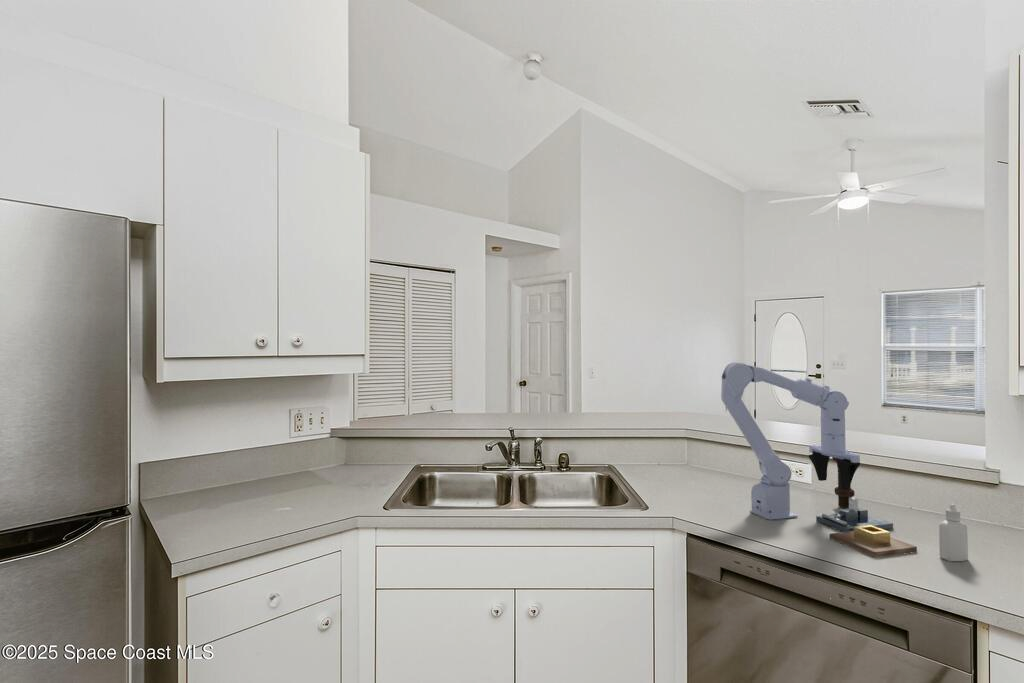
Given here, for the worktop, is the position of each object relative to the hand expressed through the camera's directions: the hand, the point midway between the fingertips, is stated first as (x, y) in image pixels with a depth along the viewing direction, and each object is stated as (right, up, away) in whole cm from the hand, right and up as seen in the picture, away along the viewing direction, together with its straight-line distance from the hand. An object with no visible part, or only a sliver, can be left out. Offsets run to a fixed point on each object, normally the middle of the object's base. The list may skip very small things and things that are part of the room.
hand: (833, 483), depth 142 cm
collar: (-3, -8, -20) cm, 21 cm away
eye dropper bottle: (+9, -9, -28) cm, 31 cm away
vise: (+2, -9, -6) cm, 11 cm away
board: (-3, -9, -20) cm, 22 cm away
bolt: (+9, -10, +9) cm, 16 cm away
